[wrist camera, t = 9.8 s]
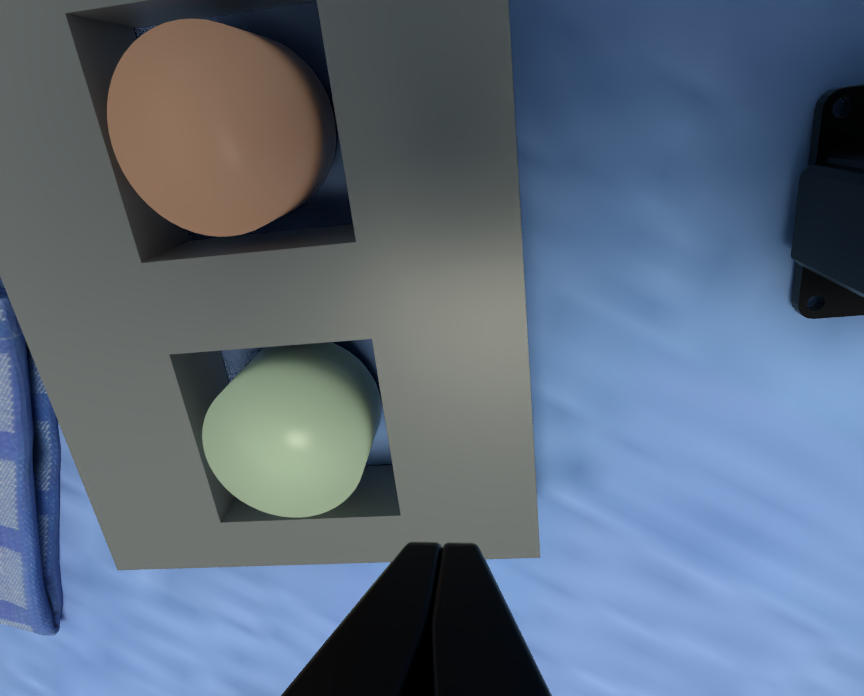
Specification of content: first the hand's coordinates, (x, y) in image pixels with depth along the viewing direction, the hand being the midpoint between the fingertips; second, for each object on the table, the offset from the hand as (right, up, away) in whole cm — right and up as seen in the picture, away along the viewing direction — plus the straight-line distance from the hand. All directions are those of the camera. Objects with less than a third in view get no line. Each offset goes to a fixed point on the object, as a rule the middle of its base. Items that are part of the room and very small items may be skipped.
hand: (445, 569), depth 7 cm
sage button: (-4, +1, +13) cm, 14 cm away
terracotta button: (-5, +9, +10) cm, 15 cm away
